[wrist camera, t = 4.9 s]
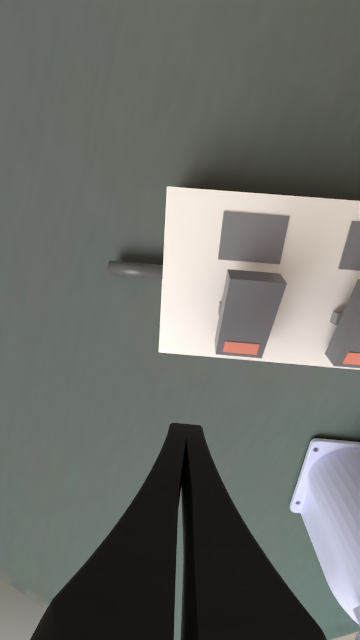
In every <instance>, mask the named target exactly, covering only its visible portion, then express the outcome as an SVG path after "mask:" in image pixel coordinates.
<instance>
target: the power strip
mask: <svg viewBox="0 0 360 640" xmlns="http://www.w3.org/2000/svg"><path fill="white" fill-rule="evenodd" d="M227 269H232V270H244V271H257V272H269V273H280V274H281V275H282V277H283V278H284V280H285V281H286V283H287V285H286V288H285V291H284V294H283V297H282V300H281V303H280V306H279V309H278V312H277V315H276V318H275V321H274V324H273V327H272V330H271V333H270V336H269V339H268V342H267V344H266V347H265V350H264V353H263V356H262V358H252V357H240V356H229V355H217V354H215V336H216V331H217V325H218V319H219V314H220V308H221V303H222V297H223V291H224V286H225V280H226V275H227ZM108 273H109V275H116V276H128V277H141V278H153V279H162V297H161V318H160V338H159V352H162V353H174V354H185V355H197V356H208V357H220V358H231V359H243V360H254V361H266V362H277V363H289V364H300V365H312V366H323V367H335V368H346V369H358V370H360V368H350V367H339V366H333V364H332V363H331V362H330V360H329V359H328V358H327V356H326V355H325V352H326V349H327V347H328V345H329V343H330V340H331V338H332V336H333V334H334V332H335V329H336V327H337V325H338V323H339V321H340V318H341V316H342V314H343V312H344V309H345V307H346V305H347V303H348V301H349V298H350V296H351V294H352V292H353V289H354V287H355V285H356V283H357V281H358V279H360V201H354V200H341V199H328V198H314V197H301V196H287V195H274V194H261V193H247V192H234V191H220V190H207V189H193V188H180V187H167V196H166V217H165V237H164V257H163V265H159V264H146V263H134V262H122V261H109V263H108Z"/></svg>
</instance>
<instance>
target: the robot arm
mask: <svg viewBox="0 0 360 640" xmlns="http://www.w3.org/2000/svg"><path fill="white" fill-rule="evenodd" d="M181 488H182V518H183V546H184V565H183V593H182V620H181V640H327V639H326V637H325V635H324V633H323V631H322V629H321V628H320V627H319V625H318V624H317V623H316V622H315V620H314V619H313V618H312V617H311V615H310V614H309V613H308V612H307V610H306V609H305V608H304V607H303V605H302V604H301V603H300V602H299V600H298V599H297V598H296V596H295V595H294V594H293V592H292V591H291V590H290V589H289V587H288V586H287V584H286V583H285V582H284V580H283V579H282V578H281V576H280V575H279V574H278V572H277V571H276V569H275V568H274V567H273V565H272V564H271V562H270V561H269V559H268V558H267V556H266V555H265V553H264V552H263V550H262V549H261V547H260V546H259V545H258V543H257V542H256V540H255V539H254V537H253V536H252V534H251V532H250V531H249V529H248V527H247V526H246V524H245V523H244V521H243V519H242V518H241V516H240V514H239V512H238V511H237V509H236V507H235V505H234V503H233V502H232V500H231V498H230V496H229V494H228V492H227V490H226V488H225V486H224V484H223V482H222V480H221V478H220V476H219V473H218V471H217V469H216V466H215V464H214V462H213V459H212V457H211V454H210V452H209V449H208V446H207V443H206V440H205V437H204V433H203V429H202V427H201V426H200V425H190V424H179V423H172V424H170V427H169V431H168V434H167V437H166V440H165V442H164V445H163V447H162V449H161V451H160V454H159V456H158V458H157V460H156V462H155V464H154V466H153V468H152V469H151V471H150V473H149V475H148V477H147V478H146V480H145V482H144V484H143V485H142V487H141V489H140V490H139V492H138V494H137V495H136V497H135V498H134V500H133V501H132V503H131V504H130V506H129V507H128V509H127V510H126V512H125V513H124V514H123V516H122V517H121V519H120V520H119V521H118V523H117V524H116V525H115V527H114V528H113V529H112V531H111V532H110V533H109V535H108V536H107V537H106V538H105V540H104V541H103V542H102V543H101V545H100V546H99V547H98V548H97V549H96V551H95V552H94V553H93V554H92V556H91V557H90V558H89V559H88V560H87V562H86V563H85V564H84V565H83V566H82V567H81V569H80V570H79V571H78V572H77V573H76V574H75V575H74V576H73V577H72V579H71V580H70V581H69V582H68V583H67V584H66V585H65V586H64V587H63V588H62V590H61V591H60V592H59V593H58V594H57V595H56V596H55V597H54V598H53V600H52V601H51V603H50V605H49V606H48V608H47V610H46V612H45V613H44V615H43V617H42V619H41V620H40V622H39V624H38V626H37V628H36V630H35V632H34V633H33V636H32V637H31V640H174V607H175V575H176V546H177V521H178V506H179V499H180V491H181ZM290 509H291V511H292V512H294V513H301V515H302V518H303V521H304V523H305V526H306V528H307V531H308V533H309V536H310V539H311V541H312V544H313V546H314V549H315V551H316V554H317V557H318V559H319V562H320V564H321V567H322V570H323V572H324V575H325V577H326V580H327V582H328V584H329V587H330V589H331V591H332V592H333V594H334V596H335V597H336V599H337V600H338V602H339V603H340V605H341V606H342V607H343V608H344V610H345V611H346V612H347V613H348V614H349V615H350V617H351V618H352V619H353V620H354V621H356V622H357V623H358V624H359V626H360V442H353V441H342V440H331V439H320V438H314V439H312V440H311V442H310V444H309V447H308V451H307V454H306V457H305V460H304V463H303V466H302V469H301V472H300V475H299V478H298V482H297V485H296V488H295V491H294V494H293V497H292V500H291V503H290ZM355 640H360V632H359V633H358V634H357V636H356V639H355Z"/></svg>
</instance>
